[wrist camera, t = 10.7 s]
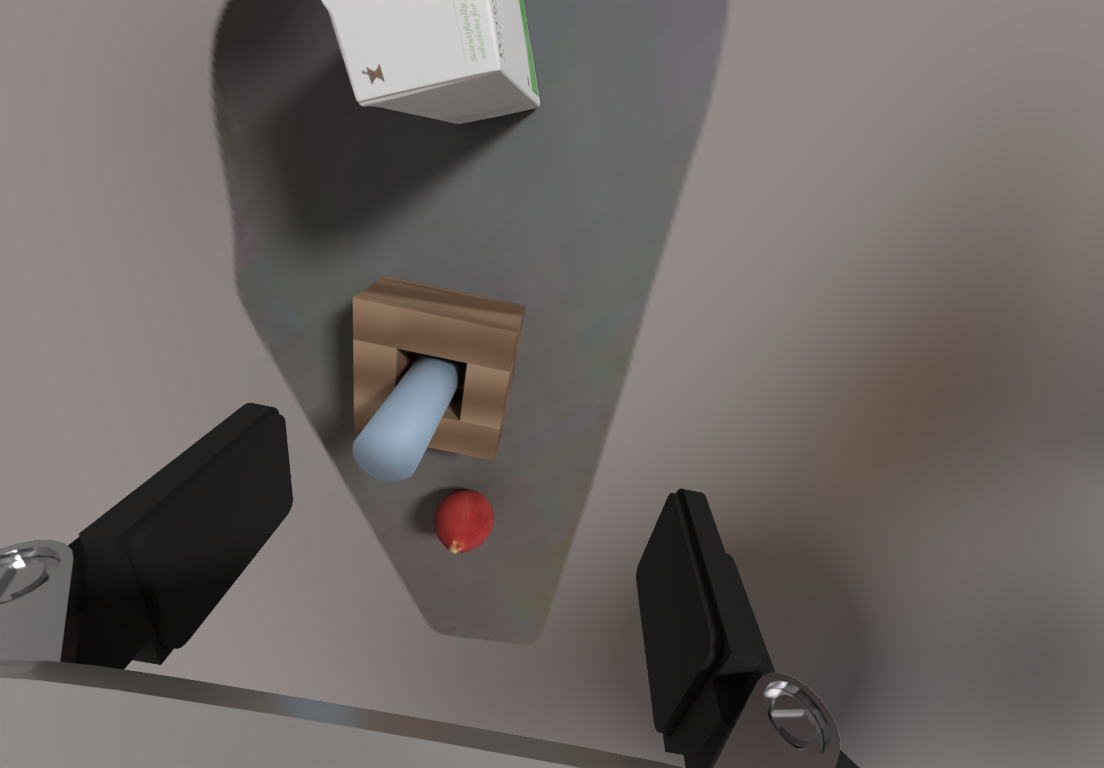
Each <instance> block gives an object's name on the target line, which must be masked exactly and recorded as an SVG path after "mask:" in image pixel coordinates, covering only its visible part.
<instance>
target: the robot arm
mask: <svg viewBox="0 0 1104 768" xmlns="http://www.w3.org/2000/svg"><path fill="white" fill-rule="evenodd" d="M292 503H293V495H292V485H291V474H290V464H289V454H288V444H287V434H286V424H285V418H284V417H283V416H282V415H279V411H278V410H277V409H276V408H274V407H269V406H265V405H260V404H255V403H247V404H245V405H243V406H242V407H241V408H239V409H238V410H237V411H236V412H234V413H233V414H232V415H231V416H229V417H228V418H227V419H225V420H224V421H223V422H221V423H220V424H219V425H218V426H216V427H215V428H214V429H213V430H211V431H210V432H209V433H207V434H206V435H205V436H204V437H202V438H201V439H200V440H198V441H197V442H196V443H195V444H193V445H192V446H191V447H189V448H188V449H187V450H186V451H184V452H183V453H182V454H181V455H179V456H178V457H177V458H175V459H174V460H173V461H171V462H170V463H169V464H168V465H166V466H165V467H164V468H162V469H161V470H160V471H159V472H157V473H156V474H155V475H153V476H152V477H151V478H150V479H148V480H147V481H146V482H145V483H143V484H142V485H141V486H139V487H138V488H137V489H136V490H134V491H133V492H132V493H131V494H129V495H128V496H127V497H125V498H124V499H123V500H121V501H120V502H119V503H118V504H116V505H115V506H114V507H113V508H111V509H110V510H109V511H107V512H106V513H105V514H104V515H102V516H101V517H100V518H98V519H97V520H96V521H95V522H93V523H92V524H91V525H89V526H88V527H87V528H86V529H84V530H83V531H82V532H80V533H79V535H80V537H78V538H77V539H76V540H74V541H73V542H72V543H71V544H69V545H68V546H67V545H66V544H64V543H61V542H57V541H54V540H34V541H29V542H23V543H17V544H14V545H11V546H8V547H4V548H1V549H0V768H681V767H677V766H674V765H669V764H666V763H662V762H657V761H652V760H647V759H642V758H637V757H632V756H626V755H621V754H617V753H611V752H606V751H601V750H596V749H591V748H586V747H581V746H575V745H569V744H564V743H558V742H552V741H547V740H541V739H535V738H530V737H524V736H518V735H513V734H507V733H501V732H496V731H490V730H484V729H479V728H473V727H467V726H462V725H456V724H450V723H444V722H438V721H433V720H427V719H421V718H415V717H410V716H404V715H398V714H392V713H386V712H380V711H375V710H368V709H363V708H357V707H351V706H345V705H339V704H333V703H327V702H322V701H316V700H310V699H304V698H298V697H292V696H286V695H280V694H274V693H268V692H262V691H255V690H249V689H243V688H237V687H232V686H225V685H219V684H213V683H207V682H201V681H195V680H189V679H183V678H177V677H170V676H163V675H156V674H150V673H143V672H136V671H129V670H124V669H125V668H126V666H127V665H128V664H129V663H130V662H131V661H132V660H135V661H141V662H147V663H152V664H158V665H161V664H162V663H163V662H164V660H165V659H166V658H167V656H168V655H169V654H170V653H171V652H172V650H173V649H174V648H176V649H178V648H180V647H182V646H183V645H185V644H186V643H187V642H188V640H189V639H190V638H191V637H192V636H193V634H194V633H195V632H196V630H197V629H198V628H199V626H200V625H201V624H202V623H203V621H204V620H205V619H206V618H207V616H208V615H209V614H210V613H211V611H212V610H213V609H214V607H215V606H216V605H217V604H218V603H219V601H220V600H221V599H222V597H223V596H224V595H225V594H226V592H227V591H228V590H229V589H230V587H231V586H232V585H233V583H234V582H235V581H236V580H237V578H238V577H239V576H240V575H241V573H242V572H243V571H244V569H245V568H246V567H247V566H248V564H249V563H250V562H251V561H252V559H253V558H254V557H255V556H256V554H257V553H258V552H259V550H260V549H261V548H262V547H263V545H264V544H265V543H266V542H267V540H268V539H269V538H270V536H271V535H272V534H273V532H274V531H275V530H276V529H277V528H278V526H279V525H280V524H281V522H282V521H283V520H284V519H285V517H286V516H287V515H288V513H289V511H290V509H291V507H292ZM636 581H637V589H638V598H639V606H640V614H641V622H642V630H643V637H644V646H645V654H646V662H647V670H648V678H649V686H650V694H651V702H652V710H653V718H654V724H655V728H656V730H657V732H659V733H663V738H664V745H665V751H666V752H670V753H676V754H682V755H684V760H685V766H686V768H859V767H858V766H857V765H856V764H855V763H854V762H853V761H852V760H850V759H849V758H848V757H847V756H846V755H845V754H844V753H843V752H842V751H841V750H840V741H841V740H840V736H839V732H838V728H837V725H836V723H835V721H834V719H833V717H832V715H831V713H830V711H829V710H828V708H827V707H826V706H825V704H824V703H823V702H822V700H821V699H820V698H819V697H818V696H817V695H816V694H815V693H814V692H813V691H812V690H811V689H810V688H809V687H808V686H806V685H805V684H803V683H802V682H800V681H799V680H797V679H796V678H794V677H791V676H788V675H786V674H783V673H775V671H774V668H773V665H772V663H771V660H770V657H769V654H768V652H767V649H766V646H765V643H764V641H763V638H762V635H761V632H760V630H759V627H758V624H757V621H756V619H755V616H754V614H753V610H752V608H751V605H750V602H749V600H748V597H747V594H746V591H745V589H744V586H743V583H742V580H741V578H740V575H739V572H738V570H737V567H736V564H735V562H734V560H733V558H732V557H731V556H730V555H729V554H726V553H725V550H724V547H723V544H722V541H721V538H720V536H719V533H718V530H717V527H716V524H715V521H714V518H713V516H712V513H711V510H710V507H709V505H708V501H707V499H706V496H705V494H703V493H701V492H696V491H691V490H686V489H679V490H678V491H677V492H676V494H675V493H670V494H669V496H668V498H667V500H666V502H665V505H664V507H663V509H662V512H661V514H660V516H659V519H658V521H657V523H656V525H655V528H654V530H653V532H652V535H651V537H650V539H649V541H648V544H647V546H646V548H645V551H644V553H643V555H642V558H641V560H640V562H639V565H638V568H637V574H636Z"/></svg>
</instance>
